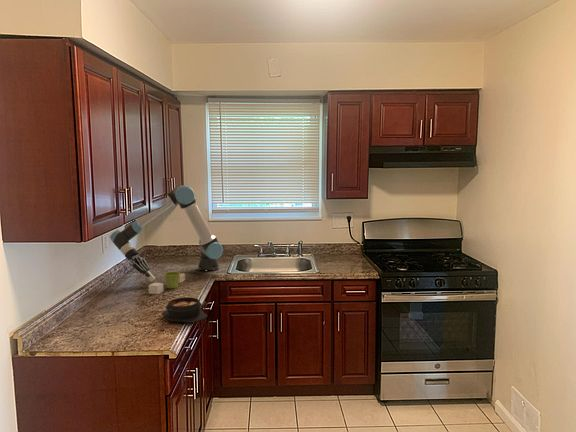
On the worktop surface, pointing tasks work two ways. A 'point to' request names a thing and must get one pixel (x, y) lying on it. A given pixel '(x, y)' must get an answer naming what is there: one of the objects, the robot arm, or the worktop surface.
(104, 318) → the worktop surface
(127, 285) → the worktop surface
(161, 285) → the grey block
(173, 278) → the plant pot
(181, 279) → the birch block
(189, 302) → the casserole
